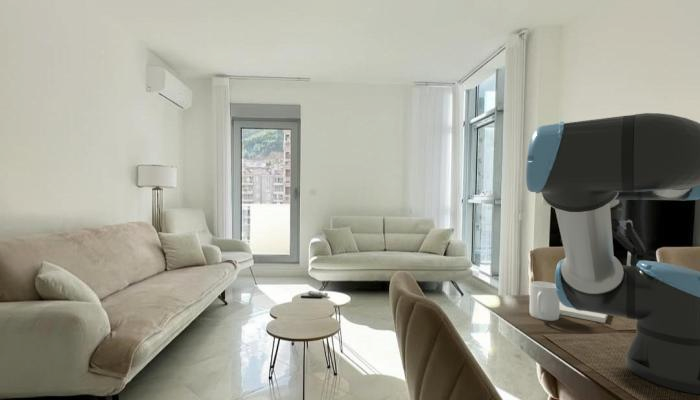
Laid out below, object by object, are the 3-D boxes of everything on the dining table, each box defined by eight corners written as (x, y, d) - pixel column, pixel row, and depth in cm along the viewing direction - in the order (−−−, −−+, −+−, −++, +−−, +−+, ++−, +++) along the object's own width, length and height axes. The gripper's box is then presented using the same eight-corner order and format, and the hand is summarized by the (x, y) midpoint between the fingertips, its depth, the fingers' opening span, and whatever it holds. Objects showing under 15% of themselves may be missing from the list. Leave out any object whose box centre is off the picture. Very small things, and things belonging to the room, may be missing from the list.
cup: (561, 316, 110) (562, 284, 110) (554, 326, 101) (554, 291, 101) (532, 310, 116) (533, 280, 116) (523, 320, 107) (523, 287, 107)
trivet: (604, 323, 104) (604, 318, 104) (551, 312, 114) (551, 308, 114) (609, 311, 116) (609, 306, 116) (561, 302, 125) (561, 298, 125)
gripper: (662, 201, 92) (654, 269, 99) (554, 194, 108) (555, 253, 116) (661, 213, 87) (653, 284, 94) (548, 204, 103) (549, 265, 111)
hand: (599, 267), depth 105 cm, fingers open, 13 cm apart
